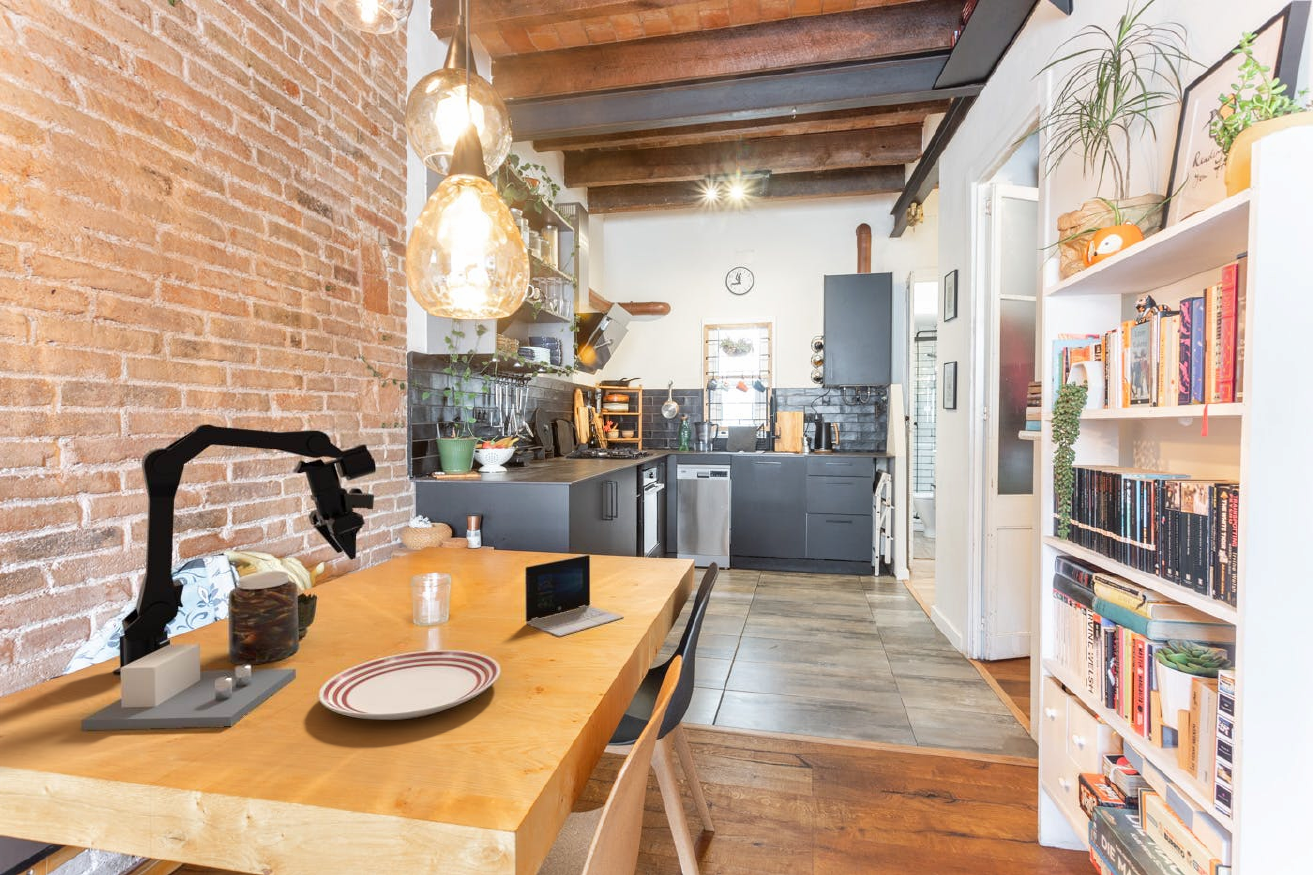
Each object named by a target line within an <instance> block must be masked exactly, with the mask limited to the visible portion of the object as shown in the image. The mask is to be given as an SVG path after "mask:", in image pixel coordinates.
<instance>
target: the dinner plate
mask: <svg viewBox="0 0 1313 875" xmlns="http://www.w3.org/2000/svg"><path fill="white" fill-rule="evenodd" d="M500 675H501V667H500V664H499V663H498V662H497V661H496V660H495V659H493V658H492V657H490V656H488V655H485V654H482V653H478V652H474V651H473V652H472V651H467V650H457V649H455V650H454V649H437V650H434V649H433V650H421V651H413V652H405V653H398V654H395V655H394V654H393V655H389V656H384V657H381V658H377V659H373V660H369V661H366V662H363V663H360V664H357V665H355V666H352V667H349V668H347V669H345V670H342V671H341V672H340V673H338V674H336V675H334V676H333V677H331V678H329V680H327V681H326V682H325V683H324V684H323V685H322V686H321V687H320V689H319V691H318V700H319V703H321V705H322V706H324V707H325V708H327V709H328V710H330V711H332V712H334V713H337V714H340V715H343V716H348V717H352V718H358V719H366V720H378V721H379V720H382V721H395V720H396V721H399V720H407V719H408V720H409V719H414V718H415V719H416V718H421V717H425V716H430V715H433V714H436V713H439V712H443V711H445V710H448V709H450V708H454V707H456V706H458V705H461V704H464V703H465V702H468V701H469V700H471V699H473V698H476V696H479V695H480V694H481V693H483V692H484V691H486V690H487V689H488V688H490V687H491V686H492V685H493V684H494V683H495V682H496V681H497V679H498V678H499V677H500Z"/></svg>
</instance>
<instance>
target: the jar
mask: <svg viewBox="0 0 1313 875" xmlns="http://www.w3.org/2000/svg"><path fill="white" fill-rule="evenodd" d="M288 575H289V574H288V572H285V571H277V570H275V571H261V572H255V573H250V574H246V575H243V576H240V577H239V578H238V581H237V582H238V586H237V587H234V588H233V589H231V590H230V592H229V593H228V594H229V595H228V605H227V606H228V607H227V608H228V615H227V616H228V617H227V618H228V619H227V621H228V656H229V658H228V659H229V662H231V663H232V664H235V665H239V666H240V665H244V664H250V665H251V666H254V665H262V664H267V663H272V662H278V661H280V660H283V659H285V658H288V657H290V656H292V655H294V654H295V653H297V652H298V651H299V649H300V637H299V616H298V596H299V595H298V586H297V584H296V582H293V581H290V580H289V576H288Z"/></svg>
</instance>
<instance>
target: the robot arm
mask: <svg viewBox="0 0 1313 875" xmlns="http://www.w3.org/2000/svg"><path fill="white" fill-rule="evenodd" d="M211 446H223V447H225V446H226V447H238V448H251V449H262V450H274V451H275V450H277V451H281V452H284V453H289V454H292V455H293V454H294V455H298V456H300V457H301V456H302V457H306V458H313V459H316V460H312V461H308V462H306V461H304V460H298V464H297V465H296V467H294V469H292V470H293V473H294V474H295V473H296V474H298V475H299V474H303V473H305V476H306V478H307V483H308V486H309V489H310V491H311V494H310V495H309V496H310V500H311V501H313V502H314V505H315V508H316V509H314V510H311V511H310V513H309V515H308V518H309V522H310V525H312V527H313V528H314V529H315V530H316V531H317V532H318V533H319V535H321V537H323V538H324V540H325V541H326V542H327V543H328V544H329V545H330V547H331V548H332V549H333V550H334V551H335V552H336V554H340V553H342V552H344V554H345V555H346V556H347V558H348V559H349V560H354V559H356V558H357V534H358V532H359V531H360V530H361V529H362V528H363V526H364V525H365V524H366V523H365V519H364V516H363V515H362V514H360V513H358V512H356V511H354V509H366V510H373V509H374V502H375V494H372V493H366V492H362V489H361V488H357V487H356V488H353V487H351V489H350V490H349V492H348V490H347V489H346V488H343V487H342V485H341V481H340V478H342V479H343V478H345V479H346V480H347V481H352V480H355V479H359V478H362V477H365V476H370V475H372V474H375V473H376V471H377V469H376V468H377V466H376V462H375V458H374V457H373V456H372V454H371V452H370V451H369V449H368V447H367V444H358V445H356V446H354V447H352V448H347V449H343V450H342V449H340V447H337V446H336V445H335V444H333V443H332V441H331V439H330V437H329V435H328V434H327V433H326V432H324V431H321V430H313V429H312V430H310V429H309V430H307V429H306V430H293V431H292V430H291V431H268V430H259V429H258V430H257V429H246V428H239V427H238V428H236V427H228V426H227V427H225V426H216V425H213V424H200V425H197V426H196V427H195V428H193V430H191V431H190V432H189V433H187V434H185V435H184V436H182V437H181V438H179V439H177V440H175V441H174V442H173V443H171V444H169V445H167V446H166V447H158V448H154V449H151V450H149V451H148V452H147V453H145V454H144V455H143V457H142V460H141V469H142V474H143V480H144V485H145V489H146V493H147V498H148V499H147V500H148V501H147V522H146V523H147V524H146V526H147V528H146V531H147V532H146V550H145V552H146V554H145V572H144V573H145V574H144V576H143V579H142V582H141V585H140V589H139V593H138V596H137V600H136V605H135V608H134V609H132V611H131V612H129V613H128V614H127V615H126V616H125V617H124V618H122V620H121V626H122V631H123V635H121V636H119V668H116V669H114V670H113V671H112V674H113V675H115V674H116V675H121V668H122V667H124V666H126V665H128V664H130V663H132V662H134V661H136V660H138V659H140V658H142V657H144V656H146V655H149V654H151V653H153V652H155V651H157V650H159V649H161V648H163V647H165V646H167V645H171V639H170V638H169V636H168V635H169V634H168V630H167V629H166V627H167V625H168V624H170V623H171V622H172V621H173V620H175V618H176V617H177V616H178V613H179V610H180V608H183V607H184V605H183V603H182V595H183V590H184V583H183V582H182V581H181V579H180V578H179V579H174V578H173V574H172V571H173V568H172V567H173V547H174V546H173V542H174V541H173V540H174V520H175V519H174V518H175V517H174V515H175V514H174V513H175V497H176V495H177V492H178V489H179V485H180V483H181V479H182V476H183V472H184V471H183V470H184V467H185V464H187V463H189V462H191V461H192V460H193V459H194V458H196V457H197V456H198V455H199V454H201V453H202V452H203V451H204V450H206V449H208V448H209V447H211ZM323 457H325V458H331V459H332V460H328V461H324V460H323V459H322V458H323ZM318 458H319V459H318ZM339 477H340V478H339ZM179 607H180V608H179ZM165 629H166V630H165Z"/></svg>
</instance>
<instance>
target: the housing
mask: <svg viewBox="0 0 1313 875" xmlns="http://www.w3.org/2000/svg"><path fill="white" fill-rule="evenodd" d="M200 646H201V644H200V643H199V644H198V643H197V644H195V643H194V644H193V643H191V644H170V645H167V646H165V647H163V648H161V649H159V650H157V651H155V652H153V653H151V654H149V655H146V656H144V657H142V658H140V659H138V660H136V661H134V662H132V663H130V664H128V665H126V666H124V667H122V668H121V674H120V694H121V695H120V696H121V697H120V699H121V707H156V706H158V705H159V704H161V703H163V702H164V701H166V700H168V699H169V698H171V697H173V696H174V695H176V694H178V693H179V692H181V691H183V690H184V689H186V688H188V687H189V686H191V685H193V684H194V683H196V682H198V681H199V680H200V671H201V653H200V652H201V651H200V650H201V647H200Z"/></svg>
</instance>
